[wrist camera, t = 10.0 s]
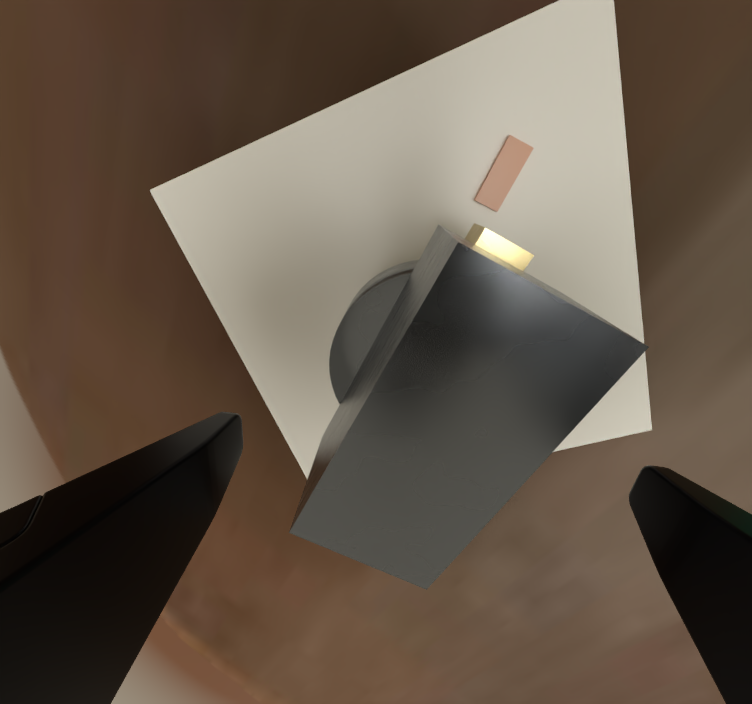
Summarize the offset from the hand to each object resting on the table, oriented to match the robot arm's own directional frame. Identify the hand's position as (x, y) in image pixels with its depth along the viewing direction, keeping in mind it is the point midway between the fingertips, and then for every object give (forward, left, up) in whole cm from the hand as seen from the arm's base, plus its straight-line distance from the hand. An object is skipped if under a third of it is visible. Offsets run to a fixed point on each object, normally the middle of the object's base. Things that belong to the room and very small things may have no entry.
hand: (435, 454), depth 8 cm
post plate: (0, 0, -10) cm, 10 cm away
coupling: (0, 0, -6) cm, 6 cm away
